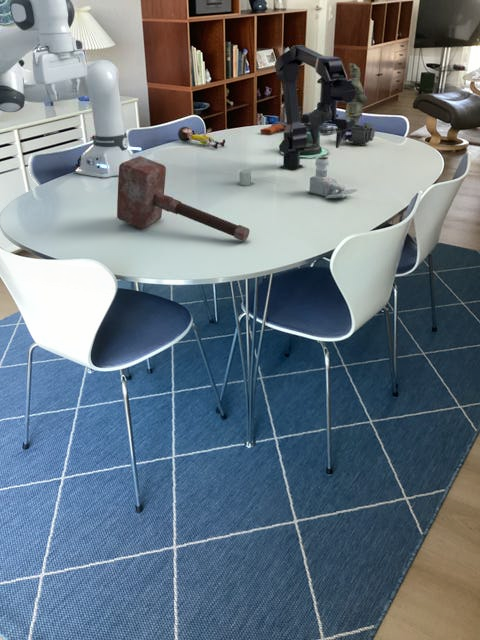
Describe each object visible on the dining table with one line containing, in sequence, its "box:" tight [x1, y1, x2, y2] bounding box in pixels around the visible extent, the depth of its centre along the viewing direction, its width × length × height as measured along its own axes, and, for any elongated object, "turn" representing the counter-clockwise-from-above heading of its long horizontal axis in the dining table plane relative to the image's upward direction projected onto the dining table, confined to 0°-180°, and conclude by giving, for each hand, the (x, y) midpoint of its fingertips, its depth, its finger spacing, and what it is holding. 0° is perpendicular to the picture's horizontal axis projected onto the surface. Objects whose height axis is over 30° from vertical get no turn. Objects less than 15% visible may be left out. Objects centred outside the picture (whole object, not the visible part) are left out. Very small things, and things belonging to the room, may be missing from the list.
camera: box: [308, 155, 359, 199], centre depth 182 cm, size 9×12×15 cm
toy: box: [342, 122, 376, 146], centre depth 244 cm, size 9×9×15 cm
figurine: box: [177, 126, 226, 150], centre depth 251 cm, size 13×8×25 cm
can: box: [238, 169, 252, 186], centre depth 197 cm, size 4×4×5 cm
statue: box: [344, 62, 368, 125], centre depth 262 cm, size 11×9×30 cm
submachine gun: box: [260, 121, 335, 136], centre depth 265 cm, size 32×3×25 cm
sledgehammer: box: [116, 155, 250, 242], centre depth 156 cm, size 17×10×40 cm
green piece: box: [280, 128, 328, 159], centre depth 234 cm, size 15×19×20 cm
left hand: (65, 97), depth 163 cm, fingers open, 8 cm apart
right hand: (325, 146), depth 194 cm, fingers open, 9 cm apart
